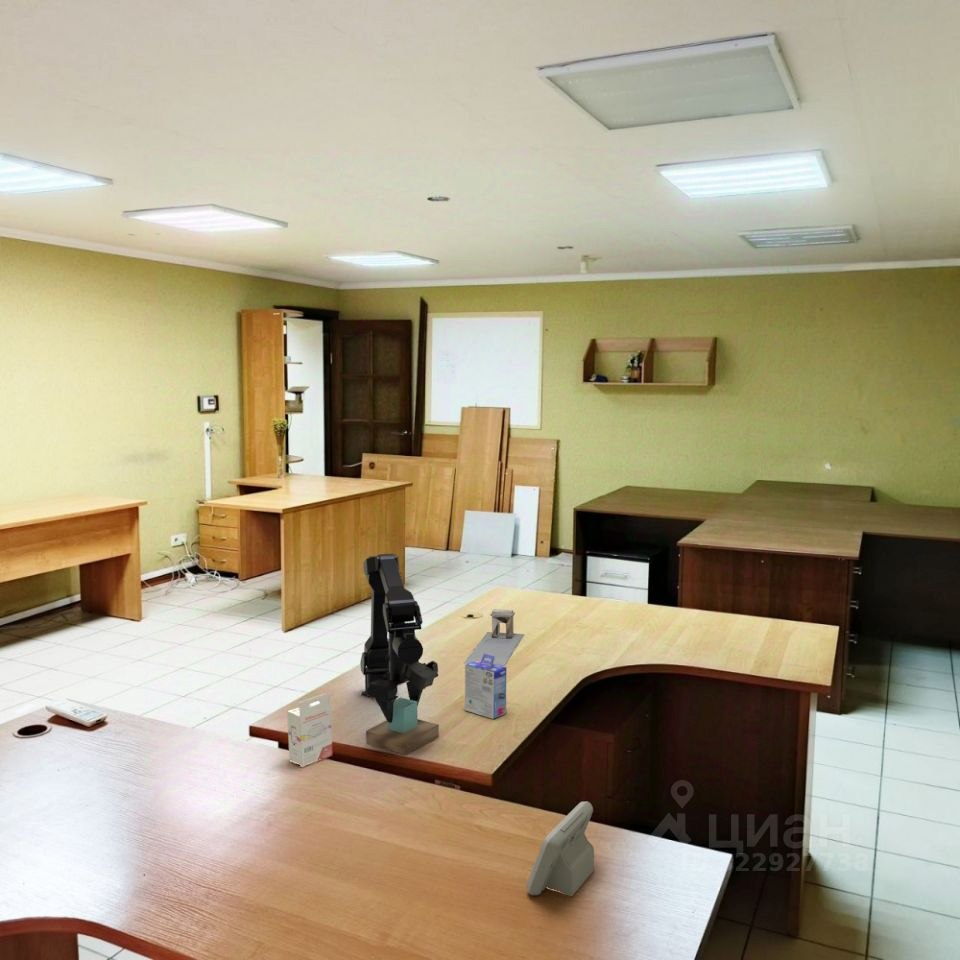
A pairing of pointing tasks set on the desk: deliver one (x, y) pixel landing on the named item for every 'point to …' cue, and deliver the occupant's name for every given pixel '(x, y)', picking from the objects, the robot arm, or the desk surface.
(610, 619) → the desk surface
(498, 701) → the ink cartridge box
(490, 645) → the grey sheet with arch
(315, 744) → the ink cartridge box
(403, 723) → the teal block
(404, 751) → the walnut plinth
